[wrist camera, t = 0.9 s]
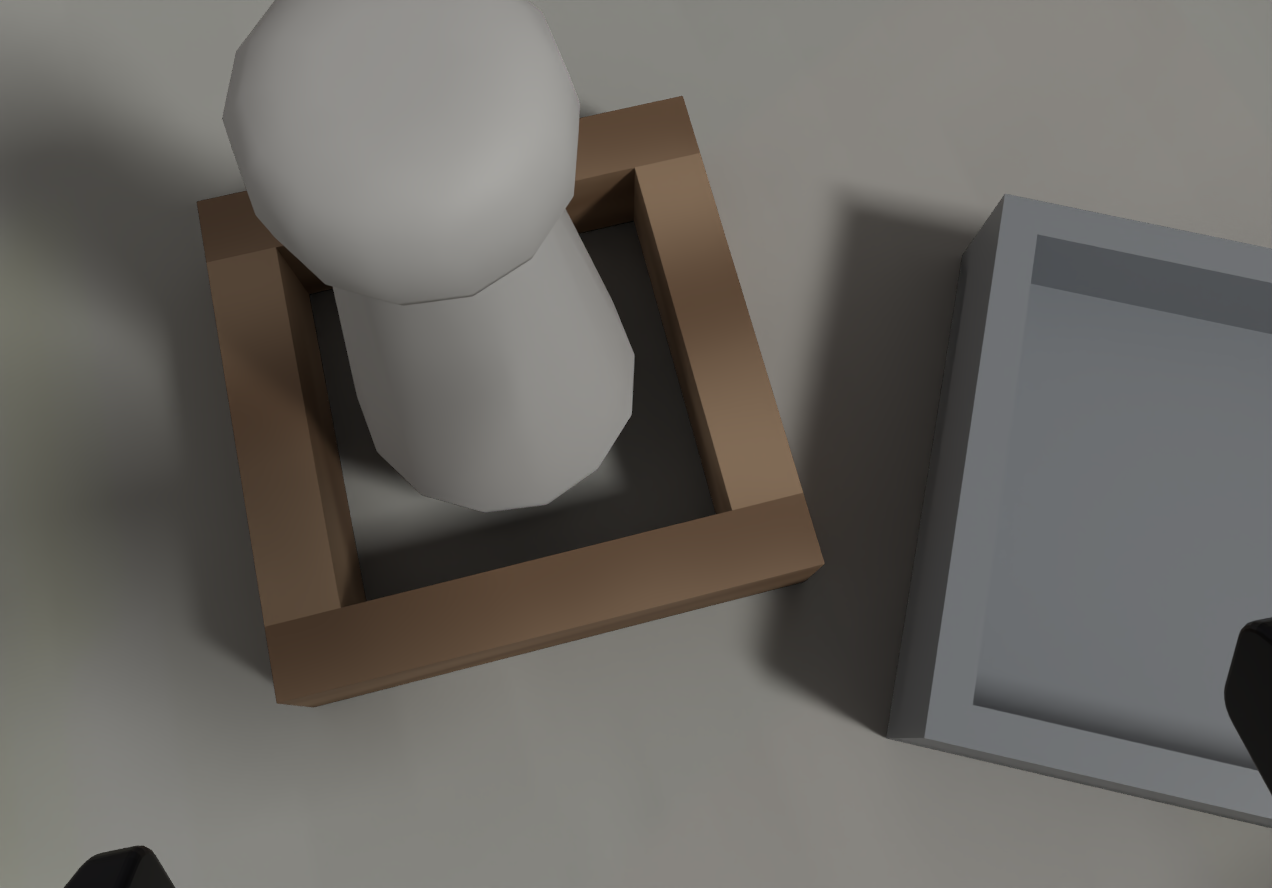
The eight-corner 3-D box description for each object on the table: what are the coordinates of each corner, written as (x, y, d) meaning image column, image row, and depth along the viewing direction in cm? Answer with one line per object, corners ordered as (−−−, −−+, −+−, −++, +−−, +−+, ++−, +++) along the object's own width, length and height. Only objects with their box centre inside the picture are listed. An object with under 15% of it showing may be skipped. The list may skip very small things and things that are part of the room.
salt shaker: (685, 404, 25) (747, 59, 12) (513, 586, 24) (386, 411, 11) (505, 249, 26) (391, -217, 13) (331, 416, 25) (24, 76, 12)
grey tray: (1434, 866, 22) (1557, 885, 19) (886, 737, 23) (924, 737, 20) (1446, 356, 25) (1552, 306, 22) (962, 254, 26) (1004, 193, 23)
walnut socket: (804, 582, 24) (824, 563, 21) (313, 707, 23) (276, 703, 20) (677, 154, 26) (682, 95, 24) (236, 252, 26) (196, 201, 23)
